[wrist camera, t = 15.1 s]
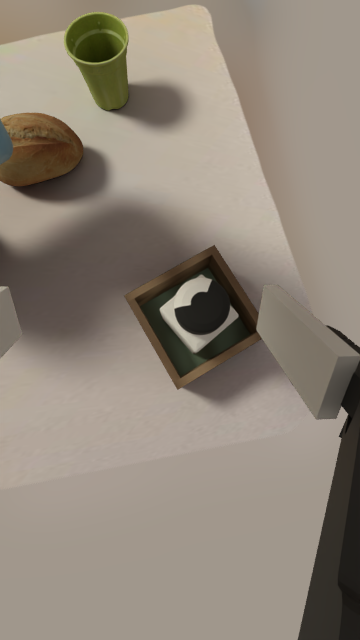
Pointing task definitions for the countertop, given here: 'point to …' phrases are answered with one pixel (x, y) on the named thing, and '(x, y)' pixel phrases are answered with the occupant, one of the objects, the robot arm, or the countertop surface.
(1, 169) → the bread roll
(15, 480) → the countertop surface
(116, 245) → the countertop surface
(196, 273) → the walnut drop box
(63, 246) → the countertop surface
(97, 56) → the plant pot
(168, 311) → the medicine bottle
